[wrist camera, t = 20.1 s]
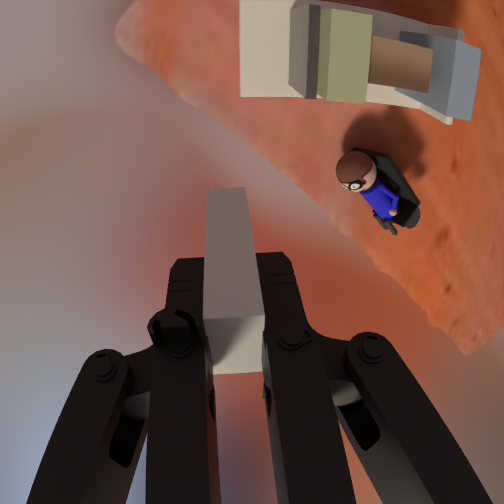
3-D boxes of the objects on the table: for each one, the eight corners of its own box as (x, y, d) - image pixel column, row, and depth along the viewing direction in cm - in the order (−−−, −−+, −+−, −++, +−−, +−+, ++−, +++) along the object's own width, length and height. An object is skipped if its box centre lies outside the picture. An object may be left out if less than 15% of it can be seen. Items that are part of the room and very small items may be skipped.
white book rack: (239, -3, 26) (243, -12, 21) (428, 25, 28) (464, 30, 22) (239, 94, 34) (244, 108, 28) (419, 106, 36) (451, 124, 30)
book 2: (329, 31, 28) (366, 34, 21) (385, 40, 29) (433, 49, 21) (327, 68, 31) (362, 82, 23) (382, 74, 32) (427, 93, 24)
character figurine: (376, 222, 48) (321, 155, 40) (413, 196, 45) (364, 123, 37) (393, 255, 42) (336, 185, 35) (435, 227, 39) (387, 147, 31)
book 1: (299, 14, 27) (331, 8, 19) (330, 17, 27) (372, 15, 19) (297, 80, 32) (326, 100, 24) (327, 82, 32) (365, 103, 24)
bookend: (290, 9, 27) (309, 4, 20) (299, 10, 27) (320, 5, 20) (288, 84, 32) (305, 98, 26) (297, 84, 32) (316, 99, 26)
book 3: (400, 30, 28) (456, 39, 19) (423, 36, 28) (481, 49, 20) (394, 90, 33) (445, 116, 24) (417, 93, 33) (470, 121, 25)
